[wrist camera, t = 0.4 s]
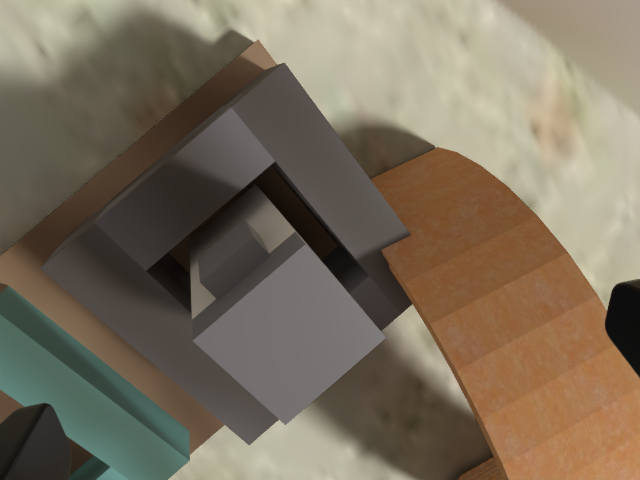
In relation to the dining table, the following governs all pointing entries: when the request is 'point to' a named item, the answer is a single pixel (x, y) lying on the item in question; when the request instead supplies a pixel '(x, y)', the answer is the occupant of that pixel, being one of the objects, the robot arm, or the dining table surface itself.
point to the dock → (178, 271)
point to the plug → (272, 308)
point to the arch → (513, 325)
